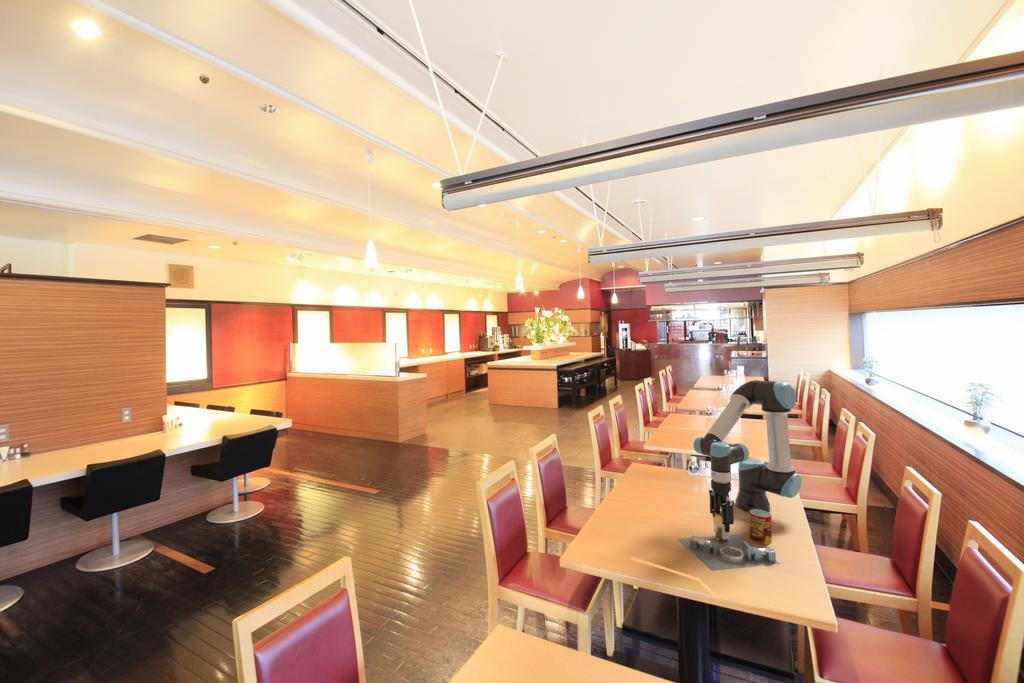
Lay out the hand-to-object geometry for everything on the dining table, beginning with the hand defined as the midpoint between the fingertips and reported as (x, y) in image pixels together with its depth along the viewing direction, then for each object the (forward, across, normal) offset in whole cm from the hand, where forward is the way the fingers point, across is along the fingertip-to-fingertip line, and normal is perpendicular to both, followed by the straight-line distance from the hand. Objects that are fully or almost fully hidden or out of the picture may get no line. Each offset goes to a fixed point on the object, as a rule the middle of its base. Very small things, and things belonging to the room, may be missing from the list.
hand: (721, 535), depth 174 cm
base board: (+3, +8, -4) cm, 10 cm away
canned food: (+3, +2, +16) cm, 16 cm away
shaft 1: (+2, +6, -12) cm, 14 cm away
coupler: (+2, 0, 0) cm, 2 cm away
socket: (+2, +14, -5) cm, 14 cm away
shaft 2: (+2, +16, +5) cm, 17 cm away
